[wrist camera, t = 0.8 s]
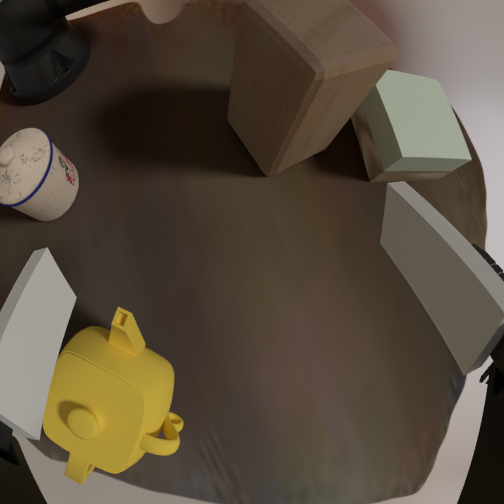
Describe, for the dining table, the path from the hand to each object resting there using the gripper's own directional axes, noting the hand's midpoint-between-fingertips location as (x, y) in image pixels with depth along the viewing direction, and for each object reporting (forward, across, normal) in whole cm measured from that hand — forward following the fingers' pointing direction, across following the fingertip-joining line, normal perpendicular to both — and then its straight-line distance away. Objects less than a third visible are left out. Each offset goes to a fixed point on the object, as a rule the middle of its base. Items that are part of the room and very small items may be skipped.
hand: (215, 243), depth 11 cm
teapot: (+9, -17, -22) cm, 29 cm away
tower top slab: (+27, +26, -5) cm, 38 cm away
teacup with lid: (+26, -23, -4) cm, 35 cm away
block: (+29, +8, -5) cm, 31 cm away
